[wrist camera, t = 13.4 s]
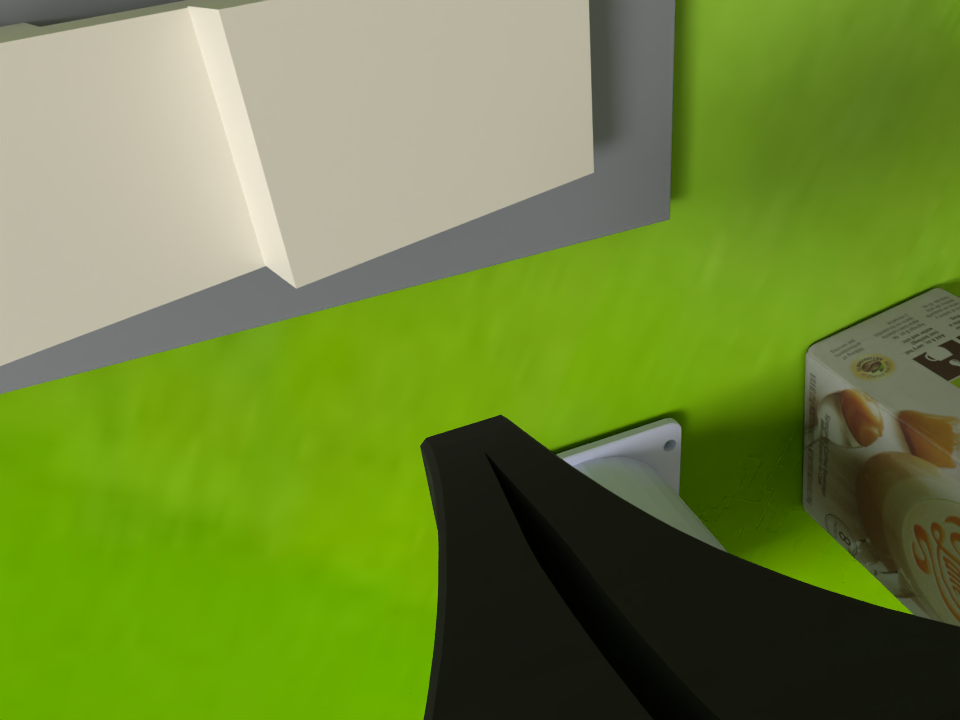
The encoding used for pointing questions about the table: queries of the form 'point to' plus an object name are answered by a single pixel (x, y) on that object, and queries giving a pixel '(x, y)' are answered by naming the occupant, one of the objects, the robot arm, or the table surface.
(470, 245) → the slate board
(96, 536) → the table surface
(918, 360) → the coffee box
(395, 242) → the domino
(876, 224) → the table surface
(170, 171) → the domino
